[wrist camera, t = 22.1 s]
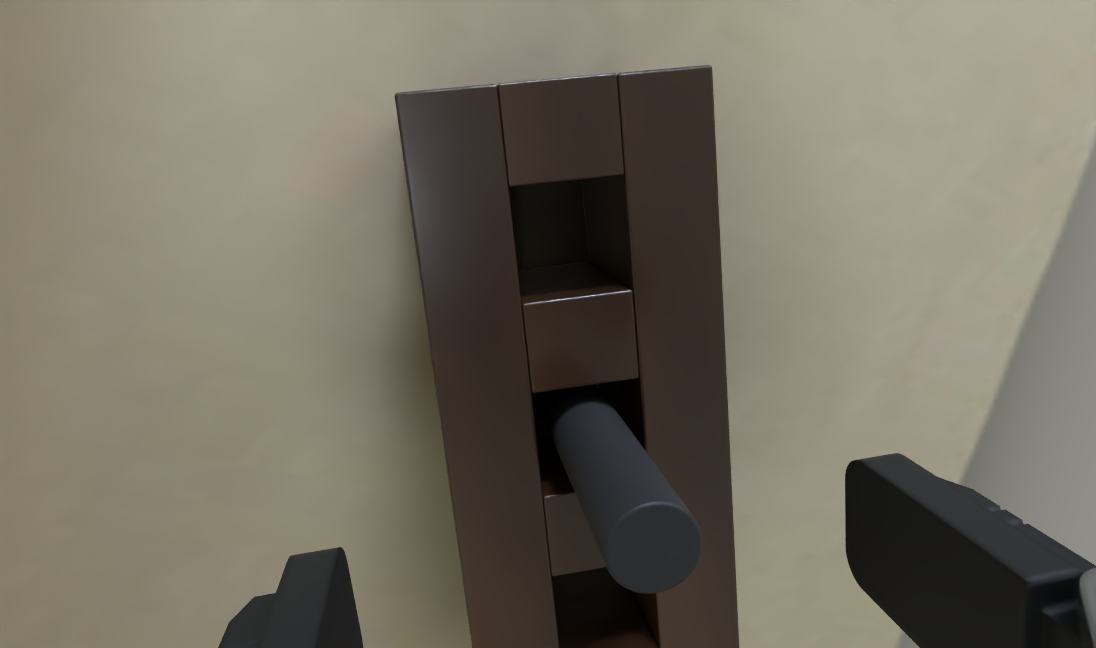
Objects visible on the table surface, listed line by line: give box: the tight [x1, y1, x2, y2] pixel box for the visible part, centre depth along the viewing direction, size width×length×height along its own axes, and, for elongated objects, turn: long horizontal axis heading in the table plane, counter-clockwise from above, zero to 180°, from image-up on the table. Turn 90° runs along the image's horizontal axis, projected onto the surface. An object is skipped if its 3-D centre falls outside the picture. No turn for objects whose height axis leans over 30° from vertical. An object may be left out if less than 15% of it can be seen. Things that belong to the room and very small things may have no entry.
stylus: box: [534, 384, 702, 594], centre depth 20 cm, size 2×2×12 cm
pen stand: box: [395, 65, 739, 648], centre depth 23 cm, size 8×19×6 cm, turn 6°
